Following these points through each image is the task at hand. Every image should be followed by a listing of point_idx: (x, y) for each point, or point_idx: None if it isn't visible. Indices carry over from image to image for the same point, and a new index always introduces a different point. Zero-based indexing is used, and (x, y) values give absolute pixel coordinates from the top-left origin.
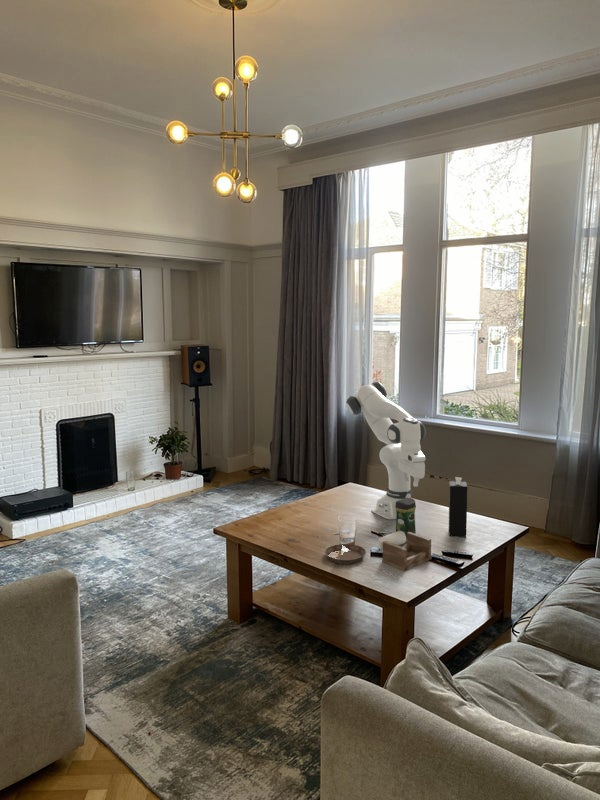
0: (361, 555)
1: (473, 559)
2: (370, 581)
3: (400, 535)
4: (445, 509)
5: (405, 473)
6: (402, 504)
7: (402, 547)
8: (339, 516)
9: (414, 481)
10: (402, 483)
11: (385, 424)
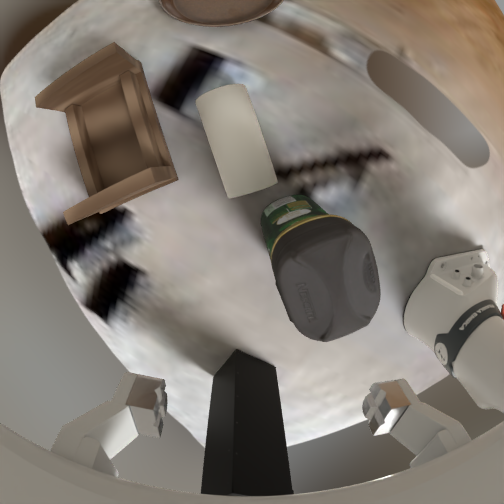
0: (205, 22)
1: (84, 309)
2: (73, 20)
3: (226, 172)
4: None
5: (429, 442)
6: (297, 244)
7: (48, 95)
8: (494, 152)
9: (97, 415)
10: (479, 366)
11: None
